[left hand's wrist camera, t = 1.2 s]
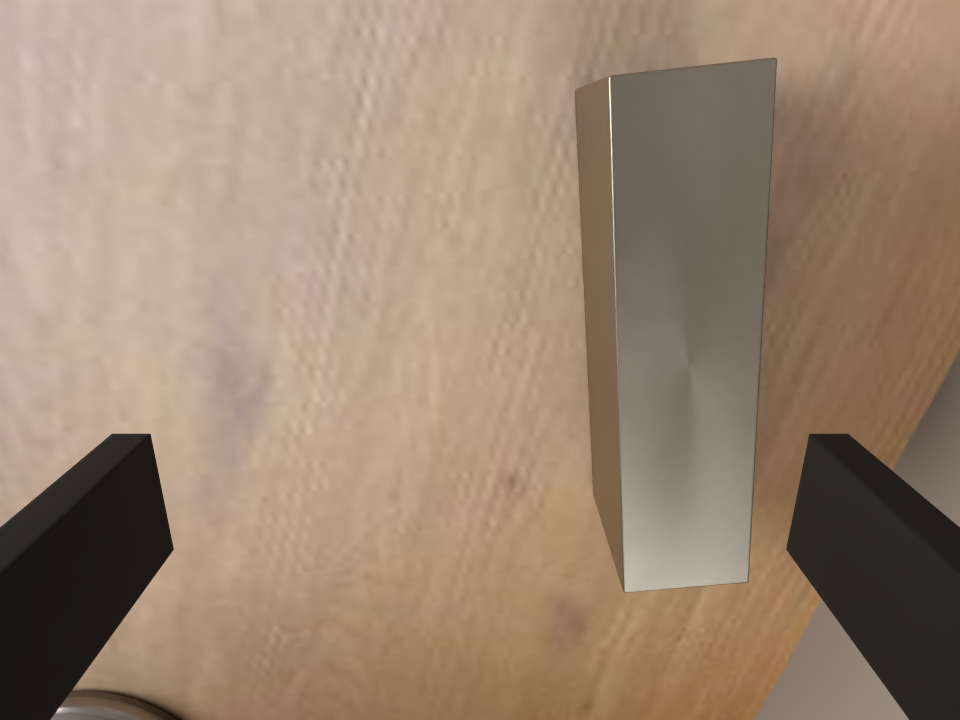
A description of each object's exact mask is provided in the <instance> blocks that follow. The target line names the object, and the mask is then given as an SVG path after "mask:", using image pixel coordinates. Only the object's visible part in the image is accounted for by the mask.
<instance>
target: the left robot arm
mask: <svg viewBox="0 0 960 720" xmlns="http://www.w3.org/2000/svg"><path fill="white" fill-rule="evenodd" d="M173 550H174V549H173V544H172V539H171V534H170V529H169V524H168V519H167V514H166V509H165V504H164V499H163V494H162V489H161V484H160V479H159V474H158V469H157V464H156V459H155V454H154V449H153V444H152V439H151V434H111V435H110V436H109V437H108V438H107V439H105V440H104V441H103V442H102V443H101V444H99V445H98V446H97V447H96V448H95V449H93V450H92V451H91V452H90V453H89V454H87V455H86V456H85V457H84V458H83V459H82V460H80V461H79V462H78V463H77V464H76V465H74V466H73V467H72V468H71V469H70V470H68V471H67V472H66V473H65V474H64V475H62V476H61V477H60V478H59V479H58V480H56V481H55V482H54V483H53V484H52V485H50V486H49V487H48V488H47V489H46V490H45V491H43V492H42V493H41V494H40V495H39V496H37V497H36V498H35V499H34V500H33V501H31V502H30V503H29V504H28V505H27V506H25V507H24V508H23V509H22V510H21V511H19V512H18V513H17V514H16V515H15V516H13V517H12V518H11V519H10V520H9V521H8V522H6V523H5V524H4V525H3V526H2V527H0V720H176V719H175V718H173V717H172V716H170V715H168V714H167V713H165V712H163V711H161V710H159V709H157V708H155V707H153V706H151V705H149V704H146V703H144V702H141V701H138V700H135V699H132V698H128V697H125V696H121V695H116V694H111V693H104V692H95V691H72V689H73V688H74V687H75V685H76V684H77V682H78V681H79V680H80V678H81V677H82V676H83V674H84V673H85V671H86V670H87V669H88V667H89V666H90V665H91V663H92V662H93V660H94V659H95V658H96V656H97V655H98V653H99V652H100V651H101V649H102V648H103V647H104V645H105V644H106V642H107V641H108V640H109V638H110V637H111V635H112V634H113V633H114V631H115V630H116V629H117V627H118V626H119V624H120V623H121V622H122V620H123V619H124V617H125V616H126V615H127V613H128V612H129V611H130V609H131V608H132V606H133V605H134V604H135V602H136V601H137V599H138V598H139V597H140V595H141V594H142V593H143V591H144V590H145V588H146V587H147V586H148V584H149V583H150V581H151V580H152V579H153V577H154V576H155V575H156V573H157V572H158V570H159V569H160V568H161V566H162V565H163V564H164V562H165V561H166V559H167V558H168V557H169V555H170V554H171V552H172V551H173ZM786 550H787V551H788V552H789V554H790V555H791V557H792V558H793V559H794V561H795V562H796V564H797V565H798V566H799V568H800V569H801V570H802V572H803V573H804V575H805V576H806V577H807V579H808V580H809V581H810V583H811V584H812V586H813V587H814V588H815V590H816V591H817V593H818V594H819V595H820V597H821V598H822V599H823V601H824V602H825V604H826V605H827V606H828V608H829V609H830V611H831V612H832V613H833V615H834V616H835V617H836V619H837V620H838V622H839V623H840V624H841V626H842V627H843V629H844V630H845V631H846V633H847V634H848V635H849V637H850V638H851V640H852V641H853V642H854V644H855V645H856V647H857V648H858V649H859V651H860V652H861V653H862V655H863V656H864V658H865V659H866V660H867V662H868V663H869V665H870V666H871V667H872V669H873V670H874V671H875V673H876V674H877V676H878V677H879V678H880V680H881V681H882V682H883V684H884V685H885V687H886V688H887V689H888V691H889V692H890V694H891V695H892V696H893V698H894V699H895V700H896V702H897V703H898V705H899V706H900V707H901V709H902V710H903V711H904V713H905V714H906V716H907V717H908V718H909V720H960V527H958V526H957V525H956V524H955V523H954V522H952V521H951V520H950V519H949V518H948V517H947V516H945V515H944V514H943V513H942V512H941V511H939V510H938V509H937V508H936V507H935V506H933V505H932V504H931V503H930V502H929V501H927V500H926V499H925V498H924V497H923V496H921V495H920V494H919V493H918V492H917V491H915V490H914V489H913V488H912V487H911V486H910V485H908V484H907V483H906V482H905V481H904V480H902V479H901V478H900V477H899V476H898V475H896V474H895V473H894V472H893V471H892V470H890V469H889V468H888V467H887V466H886V465H884V464H883V463H882V462H881V461H880V460H878V459H877V458H876V457H875V456H874V455H873V454H871V453H870V452H869V451H868V450H867V449H865V448H864V447H863V446H862V445H861V444H859V443H858V442H857V441H856V440H855V439H853V438H852V437H851V436H850V435H849V434H809V439H808V444H807V449H806V454H805V459H804V464H803V469H802V474H801V479H800V484H799V489H798V494H797V499H796V504H795V509H794V514H793V519H792V524H791V529H790V534H789V539H788V544H787V549H786Z"/></svg>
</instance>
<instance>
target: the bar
mask: <svg viewBox="0 0 960 720" xmlns="http://www.w3.org/2000/svg"><path fill="white" fill-rule="evenodd" d="M776 67H777V59H776V58H766V59H757V60H748V61H739V62H730V63H721V64H712V65H703V66H694V67H684V68H675V69H666V70H657V71H648V72H639V73H630V74H621V75H612V76H608V77H606V78H603V79H601V80H598V81H596V82H593V83H590V84H588V85H585V86H583V87H580V88H577V89H575V105H576V126H577V148H578V170H579V192H580V213H581V235H582V257H583V279H584V300H585V322H586V344H587V366H588V387H589V409H590V431H591V453H592V474H593V496H594V499H595V502H596V505H597V509H598V512H599V515H600V518H601V521H602V525H603V528H604V531H605V534H606V538H607V541H608V544H609V547H610V550H611V554H612V557H613V560H614V563H615V566H616V570H617V573H618V576H619V579H620V583H621V586H622V589H623V591H624V592H625V593H626V592H638V591H650V590H662V589H674V588H686V587H698V586H710V585H722V584H734V583H746V582H748V580H749V562H750V544H751V525H752V507H753V489H754V470H755V452H756V434H757V415H758V397H759V379H760V360H761V342H762V324H763V305H764V287H765V269H766V250H767V232H768V214H769V195H770V177H771V159H772V140H773V122H774V104H775V85H776Z"/></svg>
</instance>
